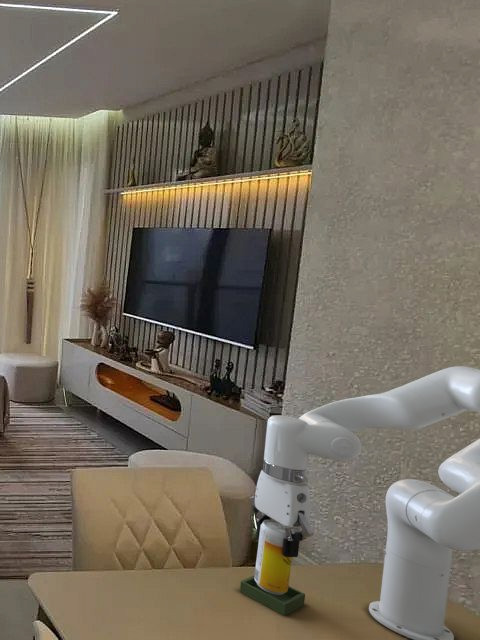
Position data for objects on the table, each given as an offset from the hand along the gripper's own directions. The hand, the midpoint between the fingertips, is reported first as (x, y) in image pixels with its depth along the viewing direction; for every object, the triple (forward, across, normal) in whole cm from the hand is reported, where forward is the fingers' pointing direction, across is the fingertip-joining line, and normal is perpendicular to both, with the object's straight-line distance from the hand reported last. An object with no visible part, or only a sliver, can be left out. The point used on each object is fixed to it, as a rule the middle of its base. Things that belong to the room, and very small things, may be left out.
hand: (276, 546), depth 122 cm
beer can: (+10, 0, 0) cm, 10 cm away
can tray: (+12, 0, 0) cm, 12 cm away
